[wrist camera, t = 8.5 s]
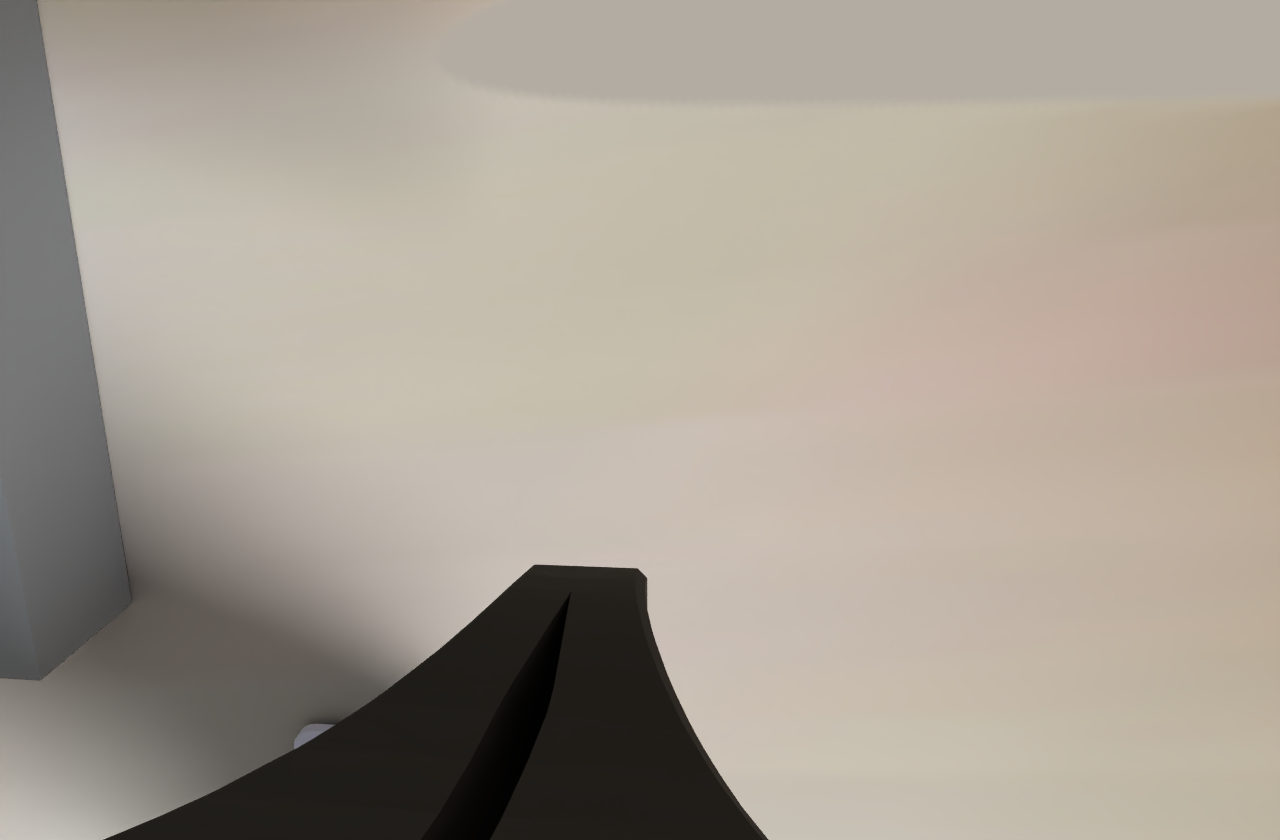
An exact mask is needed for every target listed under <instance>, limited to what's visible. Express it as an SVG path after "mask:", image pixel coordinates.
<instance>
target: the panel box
mask: <svg viewBox="0 0 1280 840" xmlns="http://www.w3.org/2000/svg"><path fill="white" fill-rule="evenodd" d="M131 603H132V600H131V594H130V588H129V581H128V575H127V569H126V562H125V556H124V550H123V544H122V537H121V531H120V525H119V518H118V512H117V506H116V499H115V493H114V487H113V480H112V474H111V468H110V461H109V455H108V449H107V442H106V436H105V430H104V424H103V417H102V411H101V405H100V398H99V392H98V386H97V379H96V373H95V367H94V360H93V354H92V348H91V341H90V335H89V329H88V323H87V316H86V310H85V304H84V297H83V291H82V285H81V278H80V272H79V266H78V259H77V253H76V247H75V240H74V234H73V228H72V221H71V215H70V209H69V203H68V196H67V190H66V184H65V177H64V171H63V165H62V158H61V152H60V146H59V139H58V133H57V127H56V120H55V114H54V108H53V102H52V95H51V89H50V83H49V76H48V70H47V64H46V57H45V51H44V45H43V38H42V32H41V26H40V19H39V13H38V7H37V0H0V678H8V679H25V680H42V679H43V678H44V677H45V676H47V675H48V674H49V673H50V672H51V671H52V670H54V669H55V668H56V667H57V666H58V665H60V664H61V663H62V662H63V661H64V660H65V659H67V658H68V657H69V656H70V655H71V654H72V653H74V652H75V651H76V650H77V649H78V648H79V647H81V646H82V645H83V644H84V643H85V642H86V641H88V640H89V639H90V638H91V637H92V636H94V635H95V634H96V633H97V632H98V631H99V630H101V629H102V628H103V627H104V626H105V625H106V624H108V623H109V622H110V621H111V620H112V619H113V618H115V617H116V616H117V615H118V614H119V613H121V612H122V611H123V610H124V609H125V608H126V607H128V606H129V605H130V604H131Z"/></svg>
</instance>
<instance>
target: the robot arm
mask: <svg viewBox="0 0 1280 840" xmlns="http://www.w3.org/2000/svg"><path fill="white" fill-rule="evenodd" d="M104 840H768V839H767V837H766V836H765V835H764V834H763V833H762V831H761V830H760V829H759V828H758V826H757V825H756V824H755V823H754V821H753V820H752V819H751V818H750V816H749V815H748V814H747V813H746V811H745V810H744V809H743V808H742V806H741V805H740V803H739V802H738V801H737V799H736V798H735V796H734V795H733V793H732V792H731V790H730V789H729V787H728V786H727V784H726V783H725V781H724V780H723V778H722V777H721V776H720V774H719V773H718V771H717V769H716V768H715V766H714V764H713V763H712V761H711V759H710V758H709V756H708V755H707V753H706V751H705V750H704V748H703V746H702V745H701V743H700V741H699V739H698V737H697V736H696V734H695V732H694V730H693V728H692V726H691V724H690V722H689V720H688V719H687V717H686V714H685V712H684V710H683V708H682V706H681V704H680V702H679V700H678V698H677V696H676V693H675V691H674V689H673V687H672V684H671V682H670V680H669V677H668V675H667V672H666V670H665V667H664V664H663V661H662V658H661V656H660V653H659V650H658V647H657V645H656V642H655V638H654V635H653V632H652V628H651V624H650V620H649V615H648V611H647V578H646V576H645V575H644V574H643V573H642V572H641V571H640V570H639V569H637V568H611V567H584V566H558V565H534V566H532V567H531V568H530V569H529V570H528V571H527V572H525V573H524V574H523V575H522V576H521V577H520V578H519V579H518V580H516V581H515V582H514V583H513V584H512V585H511V586H510V587H509V588H508V589H507V590H505V591H504V592H503V593H502V594H501V595H500V596H499V597H498V598H497V599H496V600H495V601H494V602H492V603H491V604H490V605H489V606H488V607H487V608H486V609H485V610H484V611H483V612H482V613H480V614H479V615H478V616H477V617H476V618H475V619H474V620H473V621H472V622H470V623H469V624H468V625H467V626H466V627H465V628H464V629H462V630H461V631H460V632H459V633H458V634H457V635H455V636H454V637H453V638H452V639H451V640H450V641H449V642H447V643H446V644H445V645H444V646H443V647H442V648H440V649H439V650H438V651H437V652H435V653H434V654H433V655H432V656H430V657H429V658H428V659H426V660H425V661H424V662H423V663H421V664H420V665H419V666H417V667H416V668H415V669H414V670H412V671H411V672H410V673H408V674H407V675H406V676H404V677H403V678H402V679H401V680H399V681H398V682H397V683H395V684H394V685H393V686H392V687H390V688H389V689H388V690H386V691H385V692H384V693H382V694H381V695H379V696H378V697H377V698H375V699H374V700H372V701H371V702H369V703H368V704H366V705H365V706H363V707H362V708H360V709H359V710H358V711H356V712H355V713H353V714H352V715H350V716H348V717H347V718H345V719H344V720H342V721H340V722H339V723H337V724H336V725H330V724H309V725H307V726H305V727H303V728H302V730H301V731H300V733H299V734H298V736H297V737H296V739H295V740H294V750H292V751H291V752H289V753H287V754H285V755H283V756H281V757H279V758H277V759H275V760H273V761H272V762H270V763H268V764H266V765H264V766H262V767H260V768H258V769H256V770H254V771H252V772H251V773H249V774H247V775H245V776H243V777H241V778H239V779H237V780H235V781H233V782H232V783H230V784H228V785H226V786H224V787H222V788H220V789H218V790H216V791H214V792H212V793H210V794H208V795H206V796H204V797H202V798H199V799H197V800H195V801H193V802H190V803H188V804H186V805H184V806H182V807H179V808H177V809H175V810H173V811H171V812H168V813H166V814H164V815H162V816H159V817H157V818H155V819H152V820H150V821H147V822H145V823H143V824H140V825H138V826H135V827H133V828H131V829H128V830H126V831H123V832H121V833H119V834H116V835H114V836H111V837H109V838H106V839H104Z"/></svg>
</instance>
